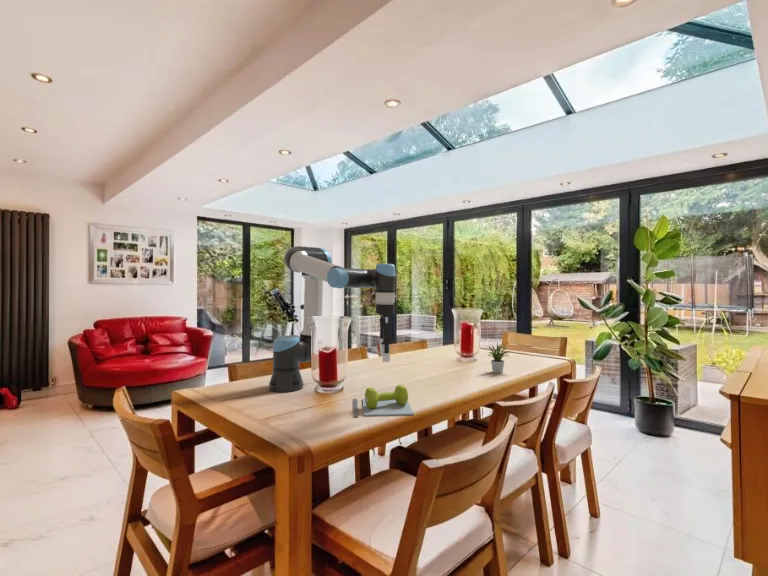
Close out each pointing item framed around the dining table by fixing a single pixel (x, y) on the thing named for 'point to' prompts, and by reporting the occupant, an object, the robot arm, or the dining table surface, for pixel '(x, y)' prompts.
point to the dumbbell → (386, 396)
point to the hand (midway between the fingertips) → (384, 358)
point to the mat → (387, 409)
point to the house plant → (497, 358)
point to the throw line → (355, 408)
